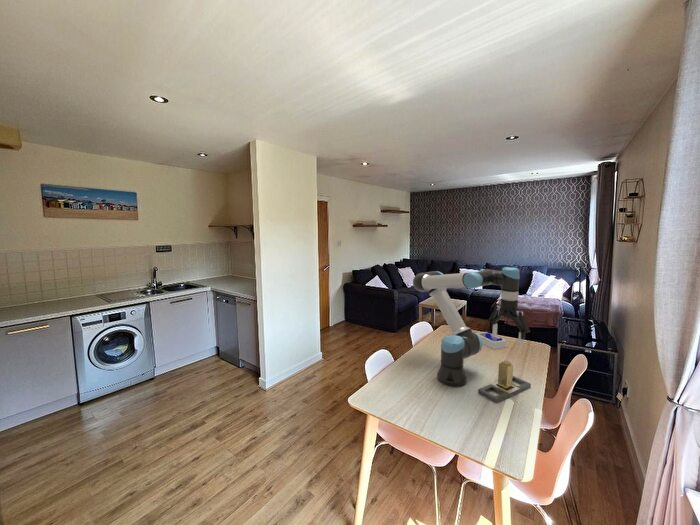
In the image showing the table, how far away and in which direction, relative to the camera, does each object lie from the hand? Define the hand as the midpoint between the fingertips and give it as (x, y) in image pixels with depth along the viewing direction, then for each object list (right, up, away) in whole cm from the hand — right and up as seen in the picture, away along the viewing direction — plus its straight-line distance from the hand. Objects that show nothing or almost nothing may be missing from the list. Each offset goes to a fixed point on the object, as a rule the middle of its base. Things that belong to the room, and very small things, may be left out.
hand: (507, 340), depth 146 cm
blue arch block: (+23, -19, +62) cm, 69 cm away
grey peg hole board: (0, -26, +3) cm, 26 cm away
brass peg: (0, -26, +3) cm, 26 cm away
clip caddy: (+21, -19, +63) cm, 69 cm away
